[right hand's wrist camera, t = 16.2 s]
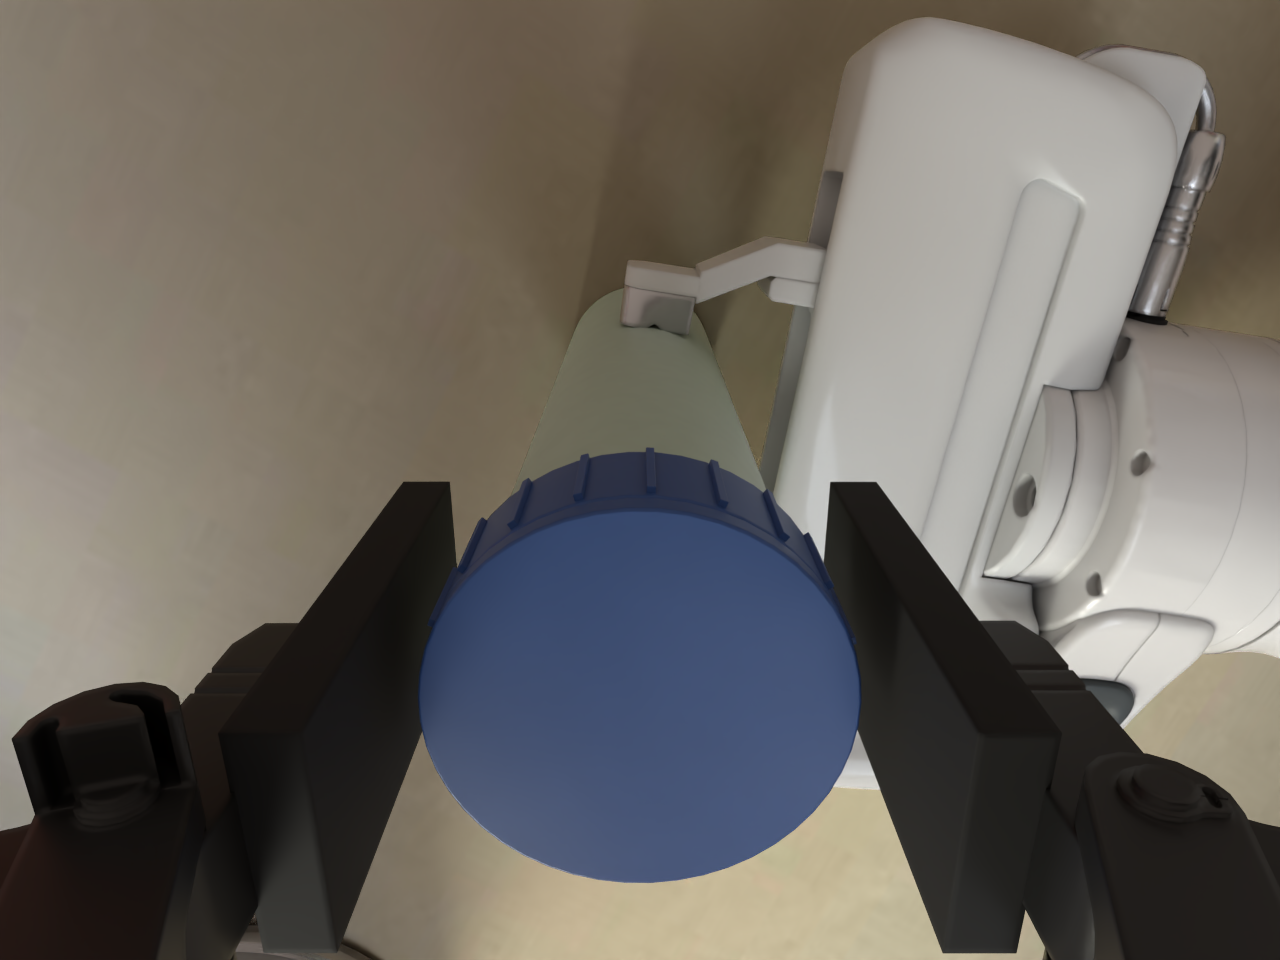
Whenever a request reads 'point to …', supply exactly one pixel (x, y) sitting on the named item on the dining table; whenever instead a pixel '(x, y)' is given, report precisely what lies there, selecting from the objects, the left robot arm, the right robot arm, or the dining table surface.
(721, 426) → the pale green bottle
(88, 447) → the dining table surface
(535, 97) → the dining table surface
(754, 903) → the dining table surface
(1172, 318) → the dining table surface
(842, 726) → the lid
